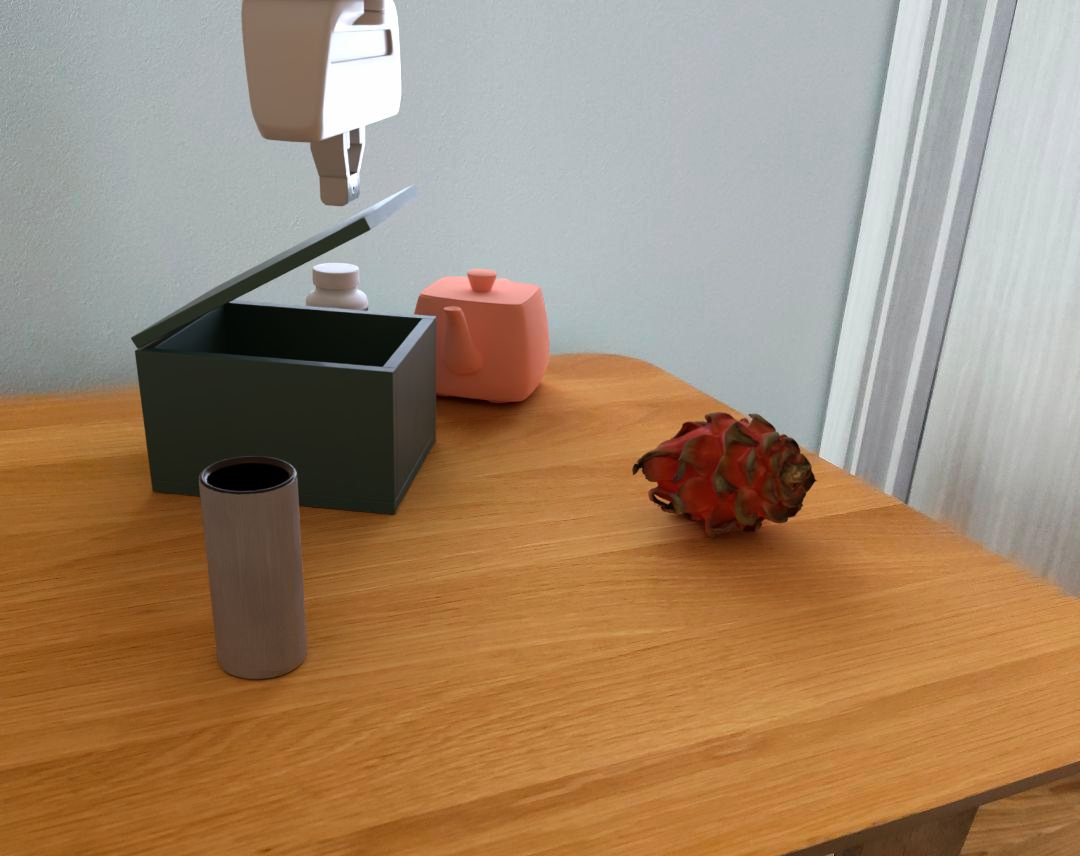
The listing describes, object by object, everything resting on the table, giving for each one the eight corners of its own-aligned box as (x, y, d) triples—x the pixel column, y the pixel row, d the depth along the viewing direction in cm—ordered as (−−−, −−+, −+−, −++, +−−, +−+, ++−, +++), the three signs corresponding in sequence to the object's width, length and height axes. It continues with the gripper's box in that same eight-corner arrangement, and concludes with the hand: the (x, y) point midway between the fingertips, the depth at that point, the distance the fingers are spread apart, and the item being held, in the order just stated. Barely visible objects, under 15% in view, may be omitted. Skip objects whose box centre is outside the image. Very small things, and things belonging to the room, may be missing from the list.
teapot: (561, 369, 101) (567, 258, 96) (513, 433, 85) (518, 304, 80) (446, 355, 103) (447, 246, 98) (378, 415, 87) (376, 289, 83)
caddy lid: (420, 194, 75) (415, 183, 74) (370, 229, 62) (364, 217, 62) (219, 297, 80) (213, 287, 79) (137, 349, 67) (129, 338, 67)
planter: (200, 653, 55) (180, 469, 50) (276, 623, 58) (264, 448, 53) (247, 691, 52) (230, 501, 47) (324, 658, 55) (315, 476, 50)
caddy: (435, 440, 83) (436, 316, 78) (394, 514, 71) (392, 372, 66) (228, 422, 84) (217, 298, 80) (152, 492, 72) (134, 350, 68)
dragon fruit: (815, 565, 70) (637, 561, 74) (818, 458, 74) (649, 458, 78) (815, 500, 63) (617, 498, 66) (818, 385, 67) (632, 388, 70)
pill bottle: (299, 381, 94) (293, 270, 90) (324, 363, 99) (319, 258, 94) (356, 388, 93) (352, 277, 89) (378, 370, 98) (376, 264, 93)
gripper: (331, -36, 72) (338, 177, 78) (214, -53, 54) (235, 226, 60) (422, -31, 71) (422, 183, 78) (335, -47, 53) (344, 234, 59)
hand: (340, 202), depth 69 cm, fingers closed
